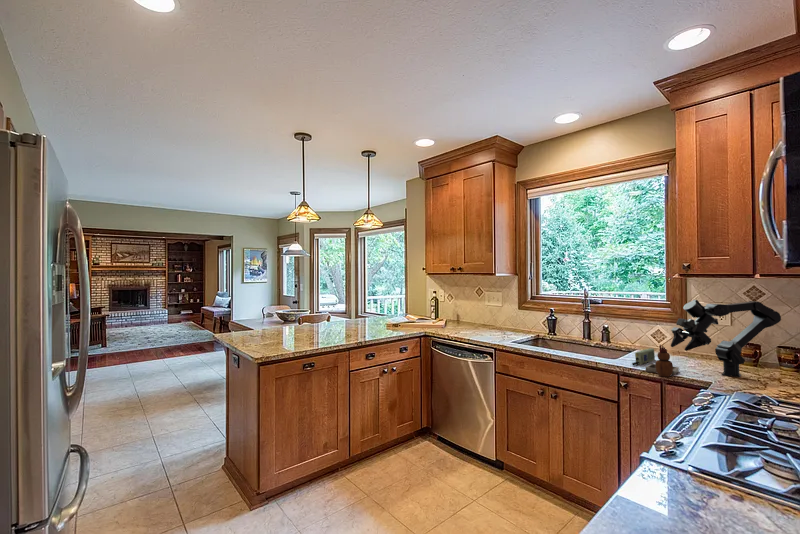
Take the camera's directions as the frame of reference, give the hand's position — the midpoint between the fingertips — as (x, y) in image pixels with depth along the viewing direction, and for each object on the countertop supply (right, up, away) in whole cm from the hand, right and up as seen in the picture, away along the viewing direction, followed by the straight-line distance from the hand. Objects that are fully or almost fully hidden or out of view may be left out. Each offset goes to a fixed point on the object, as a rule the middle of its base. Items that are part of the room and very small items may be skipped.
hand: (678, 348), depth 181 cm
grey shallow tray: (-2, -13, +9) cm, 16 cm away
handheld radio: (+1, -14, +28) cm, 32 cm away
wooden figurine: (-7, -13, 0) cm, 15 cm away
